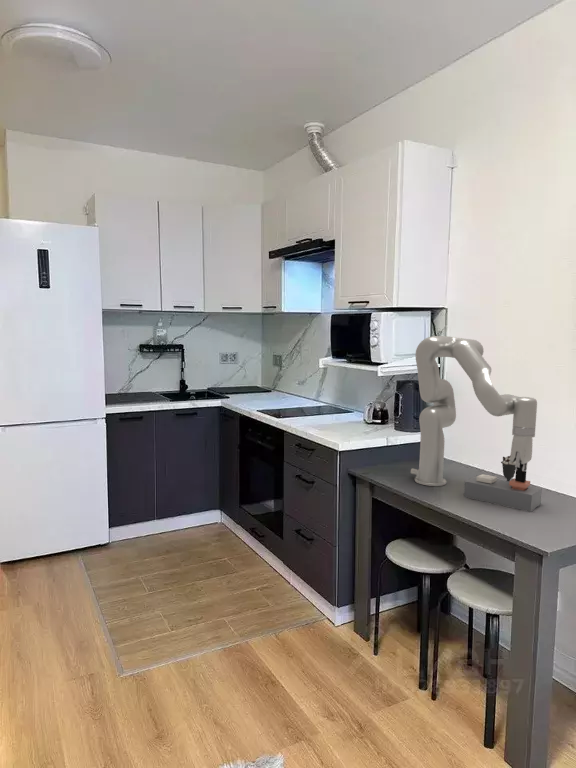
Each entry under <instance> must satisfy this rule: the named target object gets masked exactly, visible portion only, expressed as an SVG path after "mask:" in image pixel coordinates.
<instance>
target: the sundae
mask: <svg viewBox="0 0 576 768" xmlns="http://www.w3.org/2000/svg"><path fill="white" fill-rule="evenodd" d="M500 463H501V464H502V474H503V477H504V478H505V479H506V481H511V480H512V479H514V477H515V475H516V467H515V463H516V461H515V462H513V463H512V462H510V455H508V456H506V457H505V456H502V461H500Z"/></svg>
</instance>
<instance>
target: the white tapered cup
mask: <svg viewBox="0 0 576 768" xmlns="http://www.w3.org/2000/svg"><path fill="white" fill-rule="evenodd" d="M497 479H498V477H497V476H495V475H494V476H493V475H488V474H483V473H482V474H480V475H479V476H477V480H476V481H479V482H484V483H489V484H492V483H494V482H496V481H497Z"/></svg>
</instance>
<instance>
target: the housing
mask: <svg viewBox="0 0 576 768" xmlns="http://www.w3.org/2000/svg"><path fill="white" fill-rule="evenodd" d="M477 476H479V475H478V474H476V475H474V476H472V477H470V478H469V479H466V480H464V487H463V488H464V490H463V497H464V498H469V499H473V500H477V501H481V502H486V503H491V504H494V505H495V504H496V505H499V506H504V507H507V508H511V507H512V508H513V509H517V510H521V511H526V512H529V513H530V512H532V511H534V510H535V509H536V508H537V507H539V506H540V505H542V503H541V502H542V494H543V493H542V491H543V487H537V486H534V485H530V486H528V487H527V489H526V490H525V491H523V490H518V489H513V488H512V486H510V485H509V481H507V480H504V479H498V478H497V481H496V482H494V483H492V484H489V483H484V482H479V481H476V480H477Z"/></svg>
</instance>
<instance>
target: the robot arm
mask: <svg viewBox="0 0 576 768" xmlns="http://www.w3.org/2000/svg"><path fill="white" fill-rule="evenodd" d="M483 355H484V347H483V345H482V343H481V342H480V341H478V340H477V339H471V338H462V337H456V336H445V335H432V336H428V337H426V338H424V339H423V340H421V341H420V342H419V344H418V345H417V347H416V349H415V356H414V357H415V362H416V369H417V379H418V385H419V395H420V399H421V400H422V401H424V402H425V403H429V404H433V405H432V406H427V407H425V408H424V409H422V410H421V412H420V413H419V417H418V418H419V419H418V421H419V429H420V431H419V432H420V447H419V462H418V463H419V464H418V465H419V466H418V469H417V468H411V469H410V474H411V475H415V477H414V481H415V483H417V484H419V485H423V486H427V487H443V486H445V485H446V484H447V479H445V478H443V477H444V476H443V475H444V473H443V472H444V460H445V459H444V456H445V434H444V430H443V429H444V428H445V429H446V428H449V427H451V426H452V425H453V424H454V423H455V421H456V420H457V419H456V418H457V410H456V409H457V408H456V401H455V393H454V388H453V386H452V383H450V381H448V380H447V379H444V378H441V375H440V369H439V368H440V367H439V365H438V362H437V361H436V359H437V358H454V359H455V360H456V361H457V363H458V364H459V366H460V367H461V368H462V369H463V371H464V372H465V374H466V375H467V376H468V378H469V379H470V380H471V382H472V388H473V391H474V395H475V396H476V398H477V400H478V401H479V402H480V404H481V406H483V408H484V409H485V410H486V412H488V414H490V415H492V416H494V417H502V416H508V415H513V416H512V432H511V433H512V434H511V435H512V436H513V437H512V441H511V447H510V455H509V456H510V462H512V463H513V462H515V461H516V463H515V467H516V470H515V474H514V477H515V481H518V482H525V481H527V468H528V463H529V462H531V460H532V457H533V441H534V440H533V438H535V437H536V426H537V425H536V423H537V414H538V413H537V411H538V410H537V409H538V402H537V399H536V398H534V397H529V396H519V395H518V396H517V395H513V394H506V393H505V394H500V393H498V391H497V389H495V387H494V385H493V384H492V380H491V373H492V367H491V365H490V364H489V362H487V361H486V360H485V357H483Z"/></svg>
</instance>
